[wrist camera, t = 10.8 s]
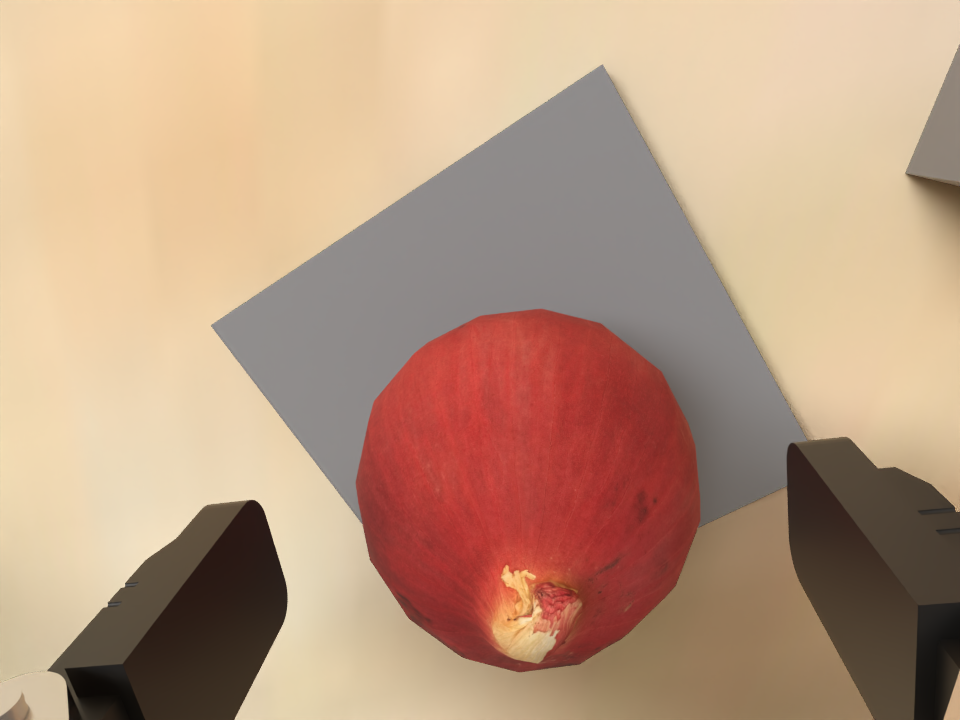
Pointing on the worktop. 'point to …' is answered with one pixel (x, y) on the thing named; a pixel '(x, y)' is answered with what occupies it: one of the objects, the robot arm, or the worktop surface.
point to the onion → (528, 489)
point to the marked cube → (941, 134)
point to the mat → (522, 293)
